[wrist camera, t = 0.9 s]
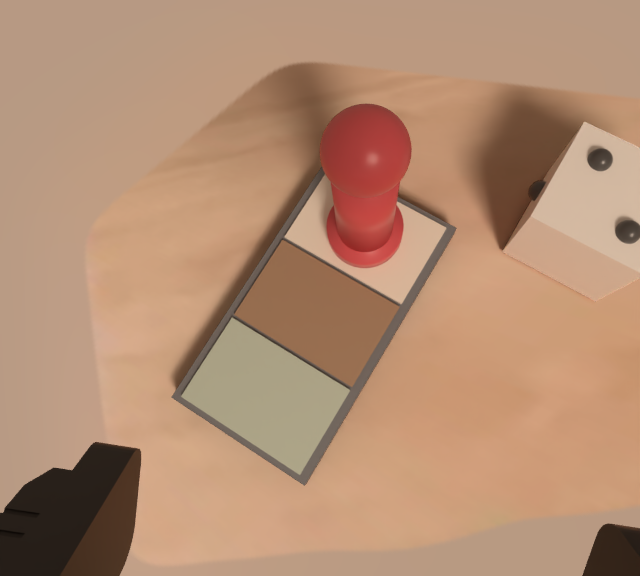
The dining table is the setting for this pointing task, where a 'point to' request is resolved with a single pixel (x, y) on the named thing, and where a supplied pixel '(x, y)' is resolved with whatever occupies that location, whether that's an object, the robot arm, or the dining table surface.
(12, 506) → the robot arm
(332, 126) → the pawn
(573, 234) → the die
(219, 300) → the dining table surface
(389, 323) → the board
